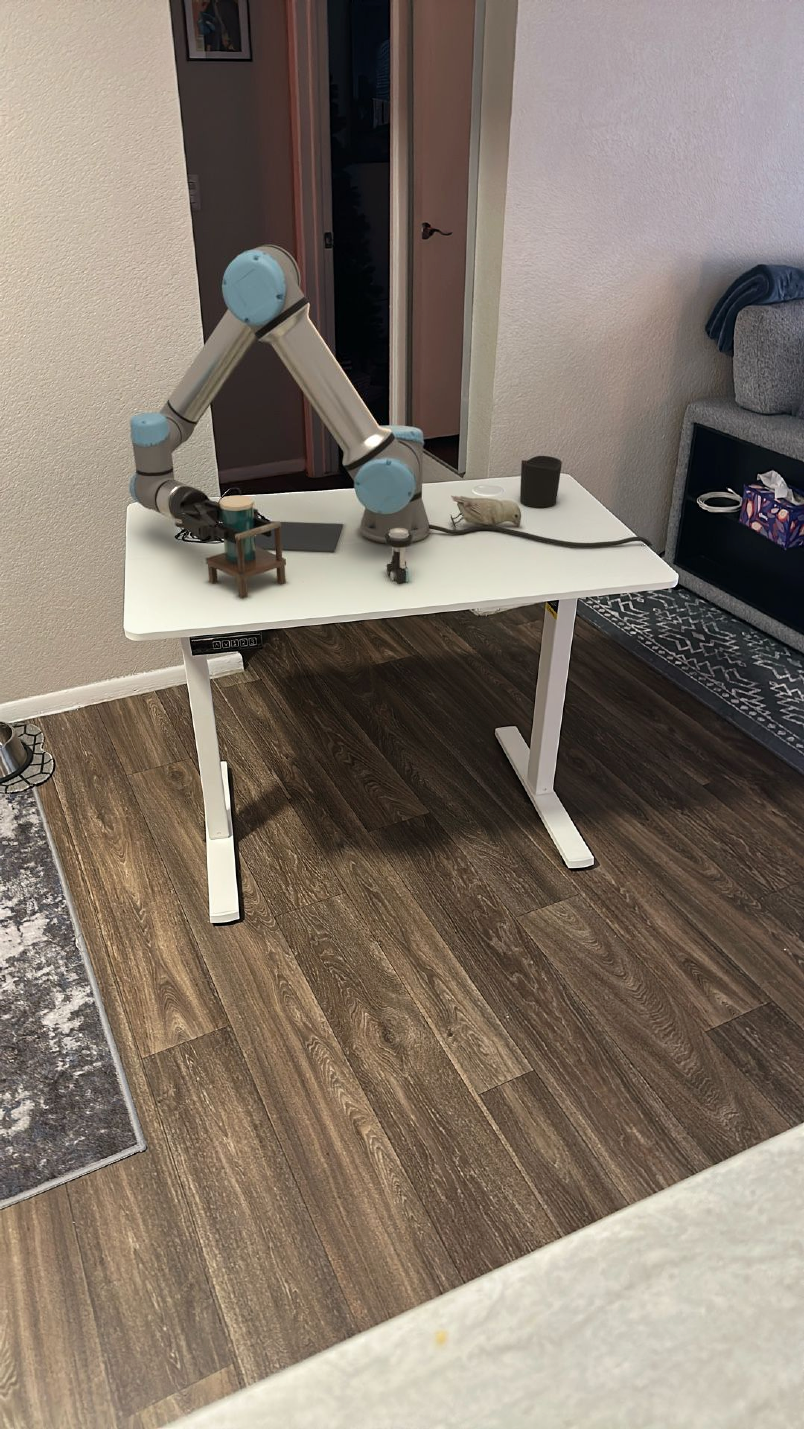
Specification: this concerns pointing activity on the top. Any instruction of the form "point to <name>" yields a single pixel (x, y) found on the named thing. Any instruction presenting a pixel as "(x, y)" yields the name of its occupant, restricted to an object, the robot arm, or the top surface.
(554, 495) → the pen holder
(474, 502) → the decorative bird
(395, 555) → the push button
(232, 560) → the canister
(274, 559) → the miniature wooden chair
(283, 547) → the mat
